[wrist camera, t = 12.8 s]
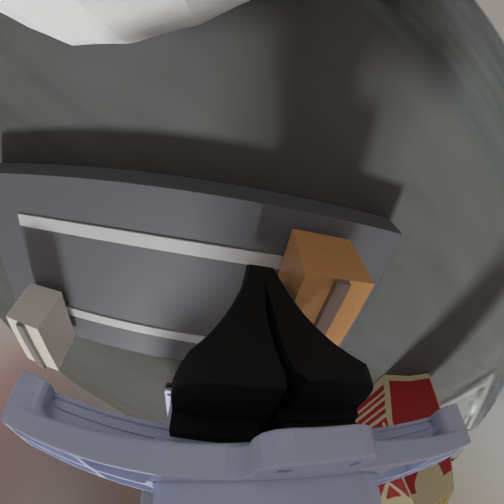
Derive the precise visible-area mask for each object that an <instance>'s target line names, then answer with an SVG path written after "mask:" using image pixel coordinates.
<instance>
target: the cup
mask: <svg viewBox="0 0 504 504" xmlns="http://www.w3.org/2000/svg"><path fill="white" fill-rule="evenodd" d="M248 1H251V0H0V12H1V13H3V14H5V15H7V16H9V17H11V18H12V19H14V20H16V21H18V22H20V23H22V24H23V25H25V26H27V27H29V28H31V29H34V30H36V31H39V32H41V33H44V34H46V35H49V36H51V37H53V38H55V39H58V40H60V41H62V42H65V43H67V44H70V45H72V46H73V45H87V44H129V43H135V42H139V41H142V40H145V39H148V38H151V37H154V36H158V35H161V34H165V33H169V32H172V31H176V30H180V29H185V28H189V27H193V26H198V25H202V24H203V23H205V22H207V21H209V20H211V19H213V18H215V17H217V16H219V15H220V14H222V13H224V12H226V11H229V10H231V9H233V8H235V7H237V6H239V5H241V4H244V3H246V2H248Z"/></svg>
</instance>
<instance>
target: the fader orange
mask: <svg viewBox="0 0 504 504" xmlns="http://www.w3.org/2000/svg"><path fill="white" fill-rule="evenodd" d="M278 277H279V279H280V280H281V282H282V284H283V285H284V287H285V288H286V290H287V291H288V293H289V294H290V296H291V297H292V299H293V300H294V302H295V303H296V305H297V306H298V307H299V308H300V310H301V311H302V312H303V313H304V315H305V316H306V317H307V318H308V319H309V320H310V321H311V322H312V323H313V324H314V325H315V327H317V328H318V329H319V330H320V331H321V332H322V333H323V334H324V335H325V336H326V337H327V338H329V339H330V340H331V341H332V342H333V343H335V344H336V345H337V346H339V344H340V343H341V341H342V340H343V338H344V336H345V335H346V333H347V332H348V330H349V328H350V327H351V325H352V323H353V322H354V320H355V318H356V317H357V315H358V313H359V311H360V310H361V308H362V306H363V304H364V303H365V301H366V299H367V297H368V295H369V293H370V292H371V290H372V288H373V286H374V282H373V280H372V278H371V277H370V275H369V273H368V271H367V269H366V268H365V266H364V264H363V262H362V260H361V259H360V257H359V255H358V253H357V252H356V250H355V248H354V247H353V245H352V243H351V241H350V240H348V239H343V238H338V237H333V236H328V235H323V234H318V233H313V232H308V231H302V230H297V229H292V231H291V235H290V238H289V241H288V245H287V248H286V251H285V254H284V258H283V261H282V264H281V267H280V270H279V273H278Z"/></svg>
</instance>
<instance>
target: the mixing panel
mask: <svg viewBox="0 0 504 504" xmlns="http://www.w3.org/2000/svg"><path fill="white" fill-rule="evenodd" d="M292 229H297V230H302V231H308V232H313V233H318V234H323V235H328V236H333V237H338V238H343V239H348V240H350V241H351V243H352V245H353V247H354V248H355V250H356V252H357V253H358V255H359V257H360V259H361V260H362V262H363V264H364V266H365V268H366V269H367V271H368V273H369V275H370V277H371V278H372V280H373V282H374V286H373V288H372V290H371V292H370V293H369V295H368V297H367V299H366V301H365V303H364V304H363V306H362V308H361V310H360V311H359V313H358V315H357V317H356V318H355V320H354V322H353V323H352V325H351V327H350V328H349V330H348V332H347V333H346V335H345V336H344V338H343V340H342V341H341V343H340V344H339V346H338V347H341V346H342V344H343V343H344V341H345V339H346V338H347V336H348V335H349V333H350V331H351V330H352V328H353V327H354V325H355V323H356V322H357V320H358V318H359V317H360V315H361V313H362V311H363V310H364V308H365V306H366V305H367V303H368V301H369V299H370V297H371V296H372V294H373V292H374V290H375V288H376V286H377V285H378V283H379V281H380V279H381V277H382V275H383V273H384V271H385V269H386V267H387V265H388V263H389V261H390V259H391V257H392V255H393V253H394V251H395V249H396V247H397V245H398V243H399V240H400V238H401V236H402V233H401V232H400V231H399V230H398V229H397V228H396V227H395V226H394V224H393V223H392V222H391V221H390V220H389V219H388V218H385V217H382V216H378V215H374V214H370V213H366V212H362V211H359V210H355V209H350V208H346V207H342V206H338V205H334V204H330V203H325V202H321V201H316V200H312V199H307V198H303V197H298V196H293V195H288V194H284V193H279V192H274V191H268V190H263V189H258V188H252V187H247V186H241V185H236V184H230V183H224V182H218V181H211V180H205V179H198V178H192V177H185V176H177V175H170V174H162V173H154V172H145V171H137V170H127V169H117V168H106V167H94V166H80V165H64V164H43V163H0V256H1V259H2V262H3V265H4V268H5V271H6V274H7V277H8V280H9V283H10V286H11V288H12V291H13V294H14V296H15V299H16V301H17V300H18V298H19V297H20V296H21V294H22V293H23V292H24V290H25V289H26V288H27V286H28V285H29V284H30V283H33V284H36V285H39V286H43V287H46V288H49V289H53V290H56V291H60V292H62V295H63V299H64V302H65V305H66V308H67V312H68V315H69V318H70V321H71V324H72V326H73V329H74V332H75V335H76V336H78V337H82V338H85V339H88V340H92V341H95V342H99V343H103V344H106V345H110V346H114V347H118V348H122V349H126V350H130V351H135V352H139V353H144V354H148V355H153V356H158V357H163V358H168V359H174V360H179V361H183V359H184V357H185V356H186V354H187V353H188V351H189V350H191V349H192V348H193V347H194V346H196V345H197V344H198V343H199V342H200V341H202V340H203V339H204V338H205V337H206V336H207V335H208V334H209V333H210V332H211V331H212V330H213V329H214V328H215V326H216V325H217V324H218V323H219V322H220V320H221V319H222V318H223V317H224V315H225V314H226V313H227V311H228V310H229V308H230V307H231V305H232V304H233V302H234V300H235V298H236V296H237V295H238V293H239V291H240V289H241V286H242V283H243V278H244V274H245V270H246V266H247V265H249V264H252V265H259V266H265V267H272V268H273V269H274V270H275V272H276V273H277V275H278V273H279V270H280V267H281V264H282V261H283V258H284V254H285V251H286V248H287V245H288V241H289V238H290V235H291V231H292Z"/></svg>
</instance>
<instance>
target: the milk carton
mask: <svg viewBox="0 0 504 504" xmlns="http://www.w3.org/2000/svg"><path fill="white" fill-rule="evenodd" d="M373 386H374V388H373V391H372V393H371V394H370V395H369V397H368V398H367V399H366V400H365V401H364V402H363V403H362V404H361V405H360V406H359V407H358V408H357V412H358V418H357V419H355V420H356V424H366V425H368V426H370V427H371V428H372V429H374V428H380V427H386V426H392V425H397V424H402V423H407V422H411V421H415V420H420V419H424V418H428V417H431V415H432V414H433V413H434V412H436V411H437V410H439V409H440V404H439V401H438V398H437V395H436V392H435V389H434V386H433V384H432V381H431V378H430V375H429V373H425V374H419V375H412V376H402V375H386V374H384V375H383V376H382V377H381V378H380V379H379V380H378V381H377V382H376V383H375V384H374V385H373ZM453 490H454V484H453V471H452V463H451V456H450V457H448V458H447V459H445V460H443V461H441V462H440V463H438V464H435V465H433V466H431V467H428V468H426V469H423V470H420V471H418V472H415V473H413V474H410V475H407V476H404V477H402V478H399V479H396V480H393V481H390V482H387V483H384V484H380V485H379V491H380V496H381V502H382V504H447V503H448V501H449V499H450V497H451V495H452V492H453Z"/></svg>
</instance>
